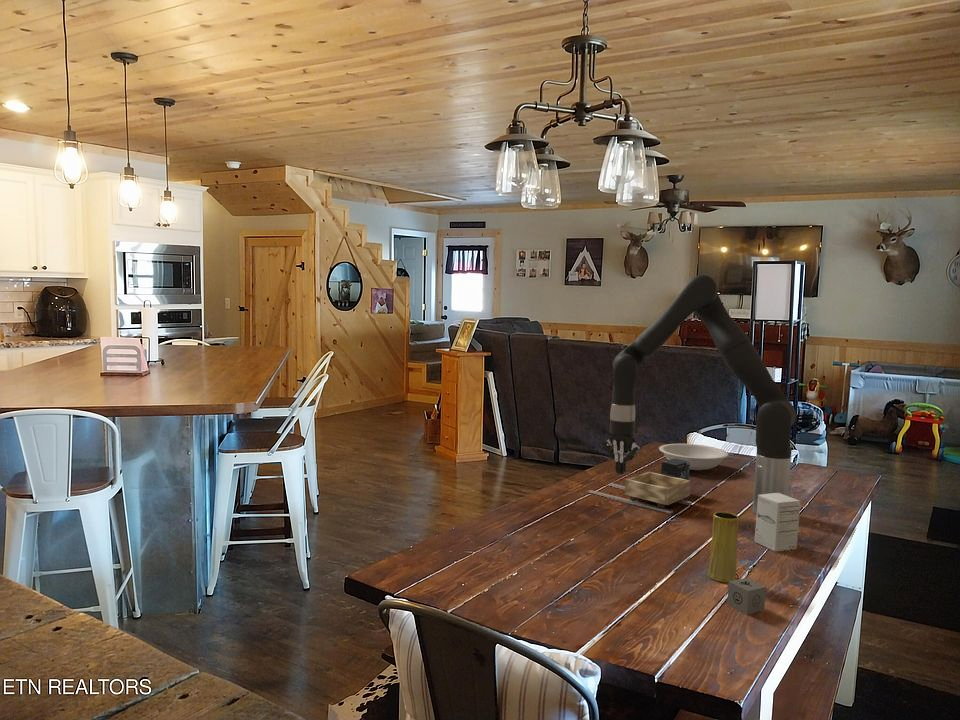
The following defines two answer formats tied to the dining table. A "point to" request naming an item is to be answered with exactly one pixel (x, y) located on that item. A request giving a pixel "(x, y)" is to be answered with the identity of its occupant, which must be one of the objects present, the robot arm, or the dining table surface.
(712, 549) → the vase
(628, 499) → the rails
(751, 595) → the grey cube
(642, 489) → the light wooden open box
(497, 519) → the dining table surface
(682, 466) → the box
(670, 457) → the soup bowl
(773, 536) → the supplement box
